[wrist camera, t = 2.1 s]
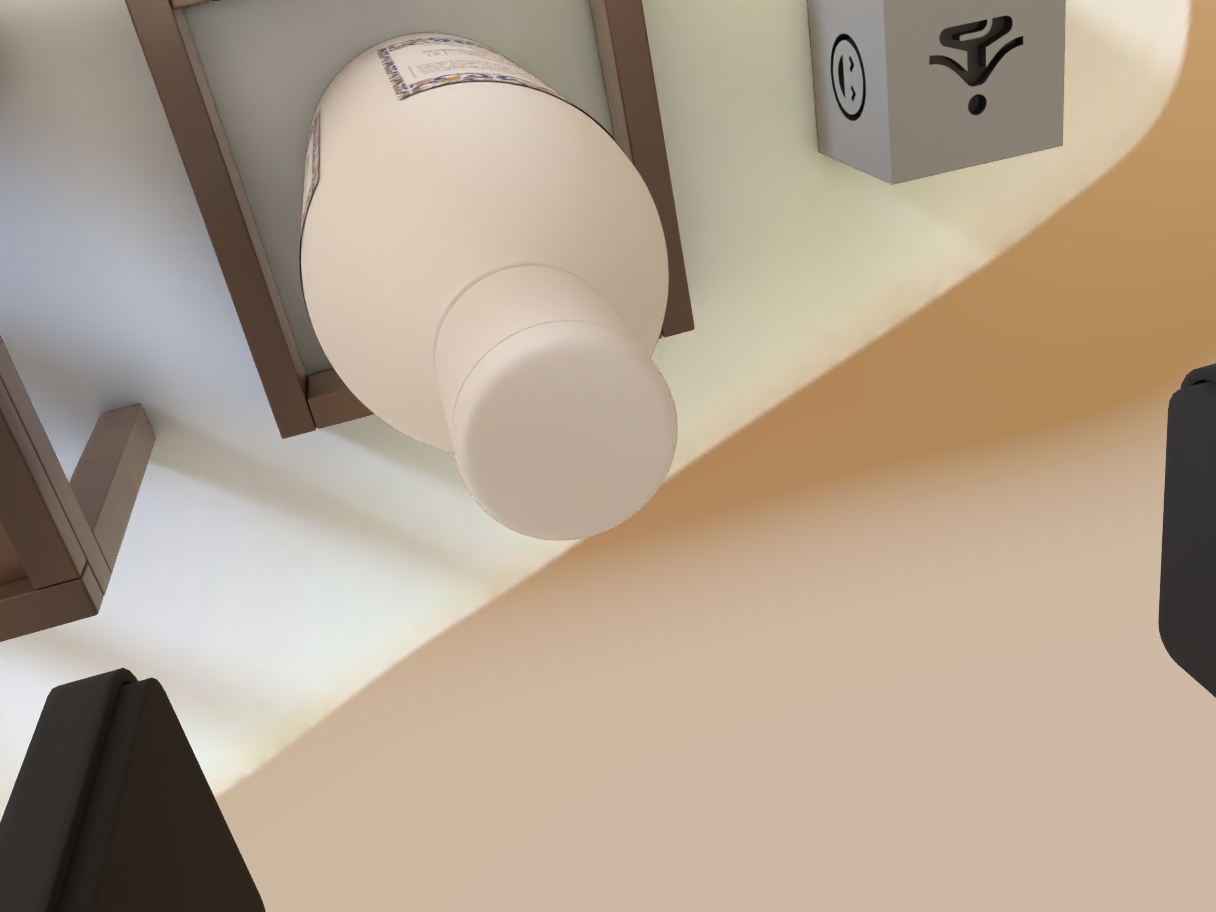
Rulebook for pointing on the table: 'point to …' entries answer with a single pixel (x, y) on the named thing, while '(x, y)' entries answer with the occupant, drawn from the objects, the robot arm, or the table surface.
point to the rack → (123, 439)
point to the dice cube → (936, 82)
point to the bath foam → (491, 280)
